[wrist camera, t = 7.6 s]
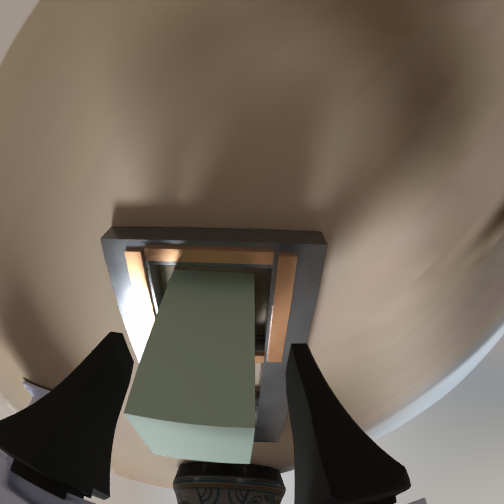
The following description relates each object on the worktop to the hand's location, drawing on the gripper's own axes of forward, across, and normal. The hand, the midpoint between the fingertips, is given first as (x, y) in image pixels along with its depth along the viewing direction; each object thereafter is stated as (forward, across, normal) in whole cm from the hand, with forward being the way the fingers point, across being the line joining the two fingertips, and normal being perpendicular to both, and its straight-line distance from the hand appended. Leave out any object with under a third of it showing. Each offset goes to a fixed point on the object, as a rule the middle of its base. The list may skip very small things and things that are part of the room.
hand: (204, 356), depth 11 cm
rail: (+4, 0, +6) cm, 8 cm away
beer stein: (+4, +1, +35) cm, 35 cm away
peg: (+4, 0, 0) cm, 4 cm away
